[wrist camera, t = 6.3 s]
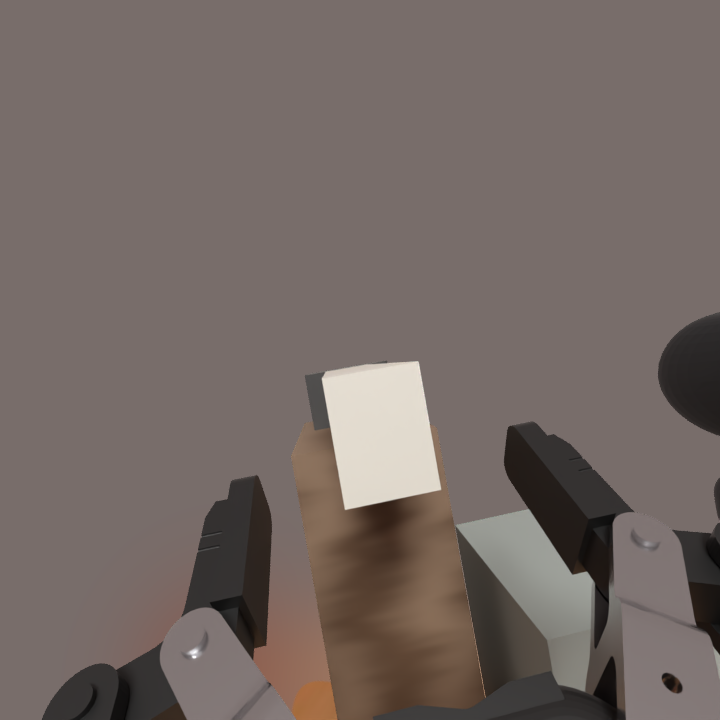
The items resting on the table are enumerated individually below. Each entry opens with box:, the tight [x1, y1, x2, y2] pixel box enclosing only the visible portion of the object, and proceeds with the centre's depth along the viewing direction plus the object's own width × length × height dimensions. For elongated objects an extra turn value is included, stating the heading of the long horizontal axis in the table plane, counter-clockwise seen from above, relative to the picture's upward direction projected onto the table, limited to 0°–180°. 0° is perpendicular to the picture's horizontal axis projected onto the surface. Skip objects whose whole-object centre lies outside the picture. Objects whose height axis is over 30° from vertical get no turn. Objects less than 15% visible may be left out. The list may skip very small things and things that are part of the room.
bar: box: [305, 361, 441, 510], centre depth 22 cm, size 6×21×4 cm, turn 5°
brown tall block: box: [291, 422, 485, 720], centre depth 26 cm, size 8×12×30 cm, turn 5°
